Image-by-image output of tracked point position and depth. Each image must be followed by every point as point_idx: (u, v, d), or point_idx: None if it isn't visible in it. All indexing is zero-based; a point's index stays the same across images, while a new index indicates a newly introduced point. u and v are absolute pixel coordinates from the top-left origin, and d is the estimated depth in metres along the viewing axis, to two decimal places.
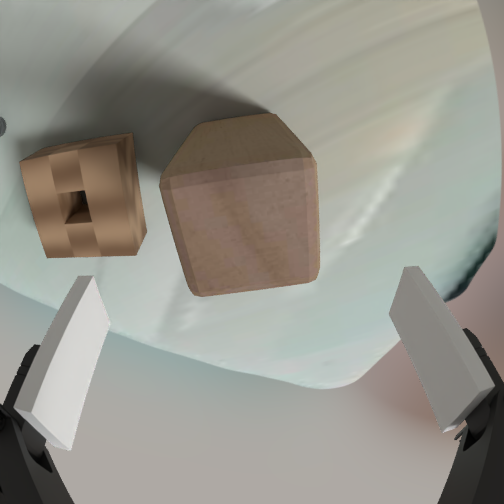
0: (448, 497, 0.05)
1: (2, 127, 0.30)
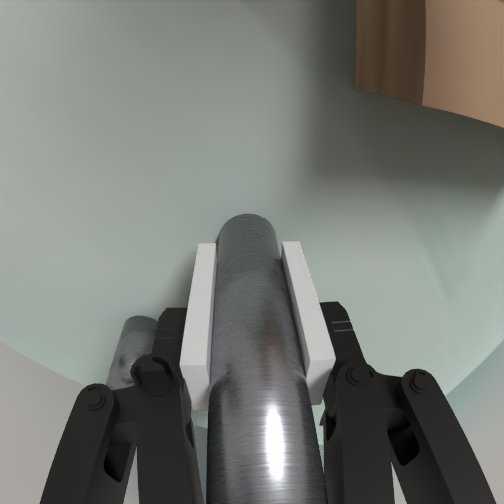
0: (328, 494, 0.06)
1: (253, 222, 0.15)
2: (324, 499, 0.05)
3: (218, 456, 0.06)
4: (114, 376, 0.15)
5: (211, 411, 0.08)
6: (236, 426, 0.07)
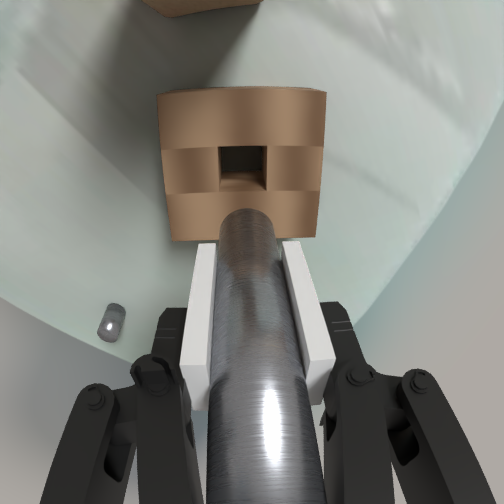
0: (328, 494, 0.06)
1: (252, 216, 0.16)
2: (318, 471, 0.06)
3: (218, 429, 0.07)
4: (100, 327, 0.38)
5: (212, 388, 0.08)
6: (235, 400, 0.07)
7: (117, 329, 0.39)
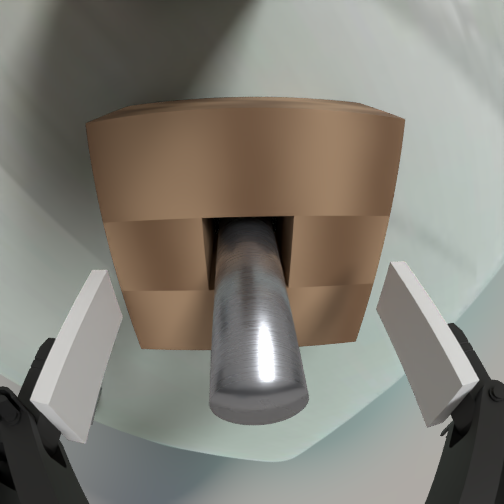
0: (436, 495, 0.06)
1: None
2: (299, 362, 0.09)
3: (220, 329, 0.10)
4: None
5: (216, 306, 0.11)
6: (233, 307, 0.10)
7: None
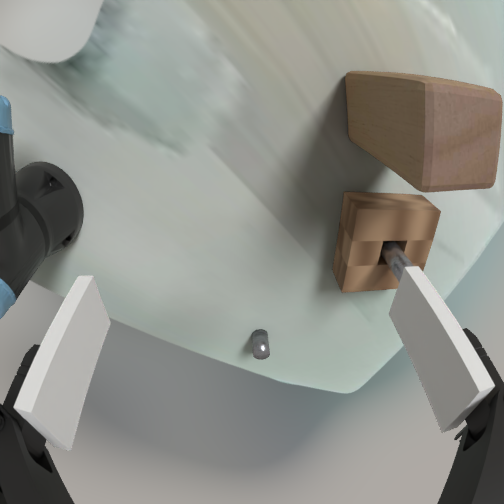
0: (448, 497, 0.05)
1: None
2: None
3: (402, 270, 0.38)
4: (258, 349, 0.54)
5: (396, 265, 0.39)
6: (404, 265, 0.38)
7: None
